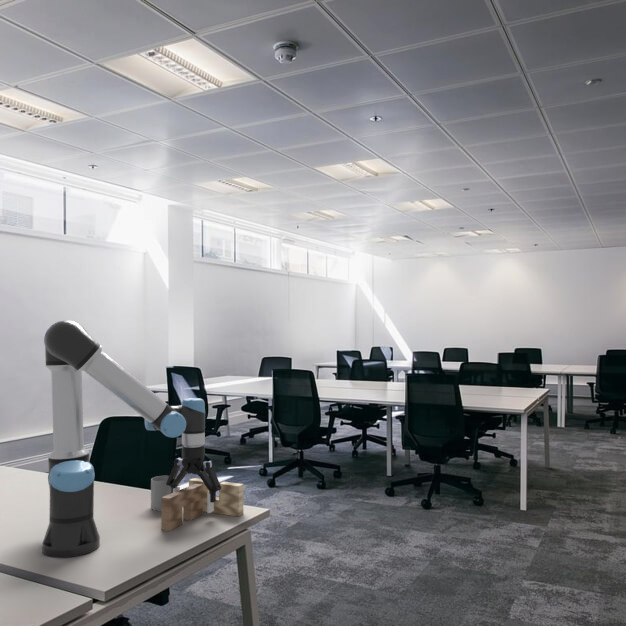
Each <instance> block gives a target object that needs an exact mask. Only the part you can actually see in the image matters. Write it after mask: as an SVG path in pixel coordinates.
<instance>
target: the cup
mask: <svg viewBox="0 0 626 626" xmlns="http://www.w3.org/2000/svg"><path fill="white" fill-rule="evenodd" d="M168 478H169V475H159V476H154V477H152V478H151V479H150V509H151V510H152V509H153V510H152V511H155V510H162V497H164V496H166V495H169V494H171V486H169V485H168V486H167V485H166V482H167V480H168ZM175 479H176V478H175Z"/></svg>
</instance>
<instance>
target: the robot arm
mask: <svg viewBox="0 0 626 626" xmlns="http://www.w3.org/2000/svg"><path fill="white" fill-rule="evenodd" d="M43 342H44V346H45V347H44V350H45V351H44V354H45V355H44V356H45V367H46V368H47V369H48V370H49V371H50V372H51V404H52V406H51V407H52V408H51V409H52V438H53V439H52V440H53V442H52V443H53V450H52V451H51V453H49V455H48V459H47V460H48V461H47V462H48V475H47V480H48V481H47V482H48V486H49V519H48V520H49V523H48V525H47V529H46V532H45V535H44V538H43V540H42V544H41V553H42V554H43V555H44V556H47V557H51V558H72V557H77V556H83V555H85V554H89V553H91V552H93V551H95V550H97V549H98V548H99V546H100V545H101V544H100V543H101V541H100V538H101V537H100V534H99V531H98V527H97V525H96V522H95V519H94V512H95V511H94V508H95V507H94V505H95V504H94V503H95V501H94V500H95V499H94V498H95V495H94V494H95V491H94V489H95V488H94V487H95V477H96V476H95V475H96V474H95V468H94V466H93V464H92V463H91V462H90V451H89V450H88V449H87V448H86V447H85V445H84V444H85V442H84V440H85V439H84V437H85V436H84V411H83V410H84V407H83V405H84V404H83V378H82V377H83V375H82V374H83V372H85V373H86V374H87V375H89V376H90V377H91V378H93V379H94V380H95V382H97V383H99V384H100V385H101V386H103V387H104V389H107V390H108V391H109V392H110V393H112V394H113V395H114V396H115V397H116V398H118V399H119V400H120V401H122V402H123V403H124V404H126V405H127V406H129V408H131V409H132V410H133V411H134V412H136V413H137V414H138V415H139V416H141V417H142V418H143V419H144V427H145V429H146V431H155V432H156V431H160V432H161V433H162V434H163V435H164V436H165V437H167V438H171V439H172V438H174V439H175V438H178V437H180V436H181V445H182V446H181V457H178V458H175V459H174V460H173V466H172V469H171V471H170V474H169V475H168V476H169V478H168V480H167V482H166V485H167V486H168V485H169V486H171V493H174V492H176V491H179V490H181V487H180V485H179V484H180V483H181V482H182V480H183V479H184V478H185V476H186V475H187V474H193V475H197V476H198V477H199V479H202V481H203V482H204V484H205V485H206V487H207V489H208V490H209V492H208V493H207V512H206V513H207V514H211V512H213V511H214V502H215V501H216V497H217V492H219V490H220V489H221V485H220V483H221V482H220V481H219V479H218V478H219V477H218V476H217V473H216V471H215V469H214V462H213V460H209V461H206V460H205V457H206V453H205V452H206V446H205V445H204V444H205V443H206V441H205V440H206V438H205V437H206V436H205V435H206V433H205V432H206V429H205V428H206V425H205V424H206V408H205V406H206V404H205V401H204V399H203V398H199V397H188V398H183V399H182V401H181V404H179V405H170V404H168V403H167V402H166V401H165V400H164V399H162V398H161V397H160V396H158V395H157V394H156V393H154V391H152V390H151V389H150V388H148V387H147V386H146V385H145V384H143V382H141V381H140V379H139V380H138V378H136V377H135V376H134V375H133V374H131V373H130V372H129V371H128V370H126V369H125V368H124V367H123V366H122V365H120V364H119V363H118V362H116V361H115V359H113V358H111V357H110V356H109V355H108V354H107V353H106V352H105V351H103V350H102V349H103V348H102V345H101V344H100V343H99V342H98V341H97V340H96V339H94V337H92V336H91V335H90V333H89V332H88V331H87V330H86V329H85V328H84V327H83V325H81V324H80V323H78V322H76V321H75V320H61V321H57V322H55V323H53V324H52V325H50V326H49V328H48V329H47V330H46V331H45V334H44V339H43ZM181 465H182V466H183V467H182V469H181ZM180 469H181V470H180ZM179 470H180V472H179ZM175 478H176V479H175Z"/></svg>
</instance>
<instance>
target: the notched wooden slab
mask: <svg viewBox="0 0 626 626" xmlns="http://www.w3.org/2000/svg"><path fill="white" fill-rule="evenodd" d="M219 483H220V485H221V489H220V490H218V496H216V501H215V502H214V511H213V512H211V513H213V514H219V515H227V516H234V517H240V516H242V515H244V483H239V482H238V483H237V482H230V481H229V482H228V481H222V482H219ZM193 484H202V485H203V512H206V513H207V493H208V492H209V490H208V489H207V487H206V485H205V484H204V482H203V481H202V479H201V478H196V477H195V478H190V479H188V487H189V486H191V485H193ZM211 513H210V514H211Z"/></svg>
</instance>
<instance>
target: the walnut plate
mask: <svg viewBox="0 0 626 626" xmlns="http://www.w3.org/2000/svg"><path fill="white" fill-rule="evenodd" d="M203 512H204V511H203V485H202V484H193V485H191V486H189V485H188V486H186V487H183V488H182V489H181V488H180V490H179V491H176V492H174V493H171V494H169V495H166V496H164V497H162V511H161V522H160V523H161V524H160V525H161V526H160V527H161V528H160V529H161V531H166V532H171V531H172V530H174V529H176V528H178V527H181V526H183V520H184V519H186V521H193V520H195V519H197V518H198V516H199V517H201V516H203V514H204V513H203ZM200 515H201V516H200ZM196 517H197V518H196ZM194 518H195V519H194ZM192 519H193V520H192Z"/></svg>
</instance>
